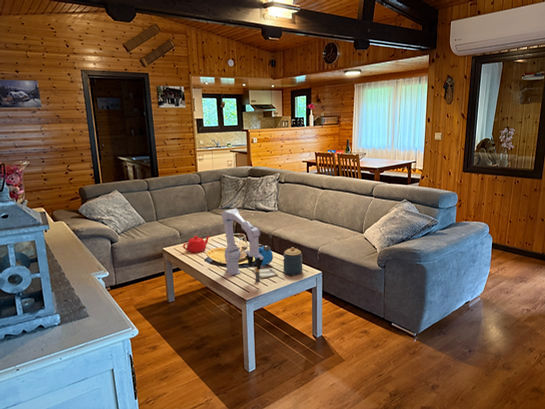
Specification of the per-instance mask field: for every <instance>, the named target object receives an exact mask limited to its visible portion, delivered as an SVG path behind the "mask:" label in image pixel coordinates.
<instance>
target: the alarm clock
mask: <svg viewBox="0 0 545 409" xmlns="http://www.w3.org/2000/svg"><path fill="white" fill-rule="evenodd" d="M259 254H261V255H262V256H263V258H264V260H263V262H262V264H261V267H263V266H267V265H270V263H271V262H272V261H273V259H274V255H273V252H272V250H271V247H270V246H269V245H263V244H261V243H259ZM253 259H254V260H255V259H257V258H256V257H253Z"/></svg>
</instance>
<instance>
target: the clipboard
mask: <svg viewBox="0 0 545 409" xmlns="http://www.w3.org/2000/svg"><path fill="white" fill-rule="evenodd" d="M251 272H252V273H254V274H255V275H256V273H255V269H252V270H251ZM278 276H279V274H277V272H275V270H274V269H272V268H269V267H268V266H266V267H261V268H260V280H265V279H269V278H274V277H278Z"/></svg>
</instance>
